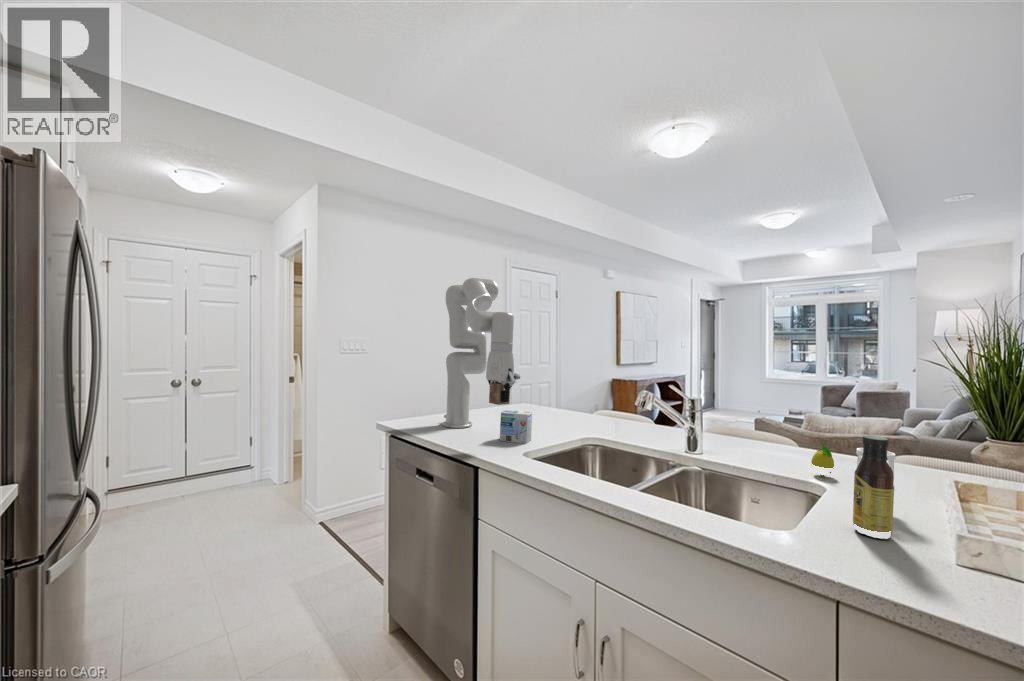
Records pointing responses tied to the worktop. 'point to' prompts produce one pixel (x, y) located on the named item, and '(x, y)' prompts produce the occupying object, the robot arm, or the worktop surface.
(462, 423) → the robot arm
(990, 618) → the worktop surface
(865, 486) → the sauce bottle
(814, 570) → the worktop surface
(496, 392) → the walnut block
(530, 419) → the light bulb box
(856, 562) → the worktop surface
